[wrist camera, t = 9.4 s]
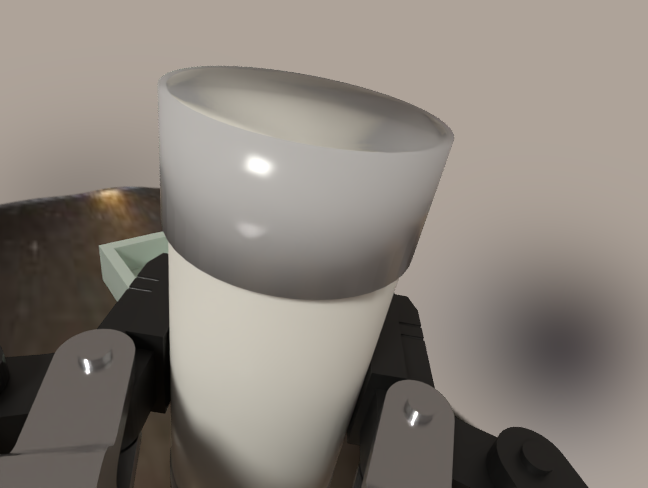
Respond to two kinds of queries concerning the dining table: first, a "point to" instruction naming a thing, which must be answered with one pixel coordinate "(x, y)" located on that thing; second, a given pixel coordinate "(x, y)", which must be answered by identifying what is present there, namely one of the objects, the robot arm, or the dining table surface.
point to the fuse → (281, 261)
